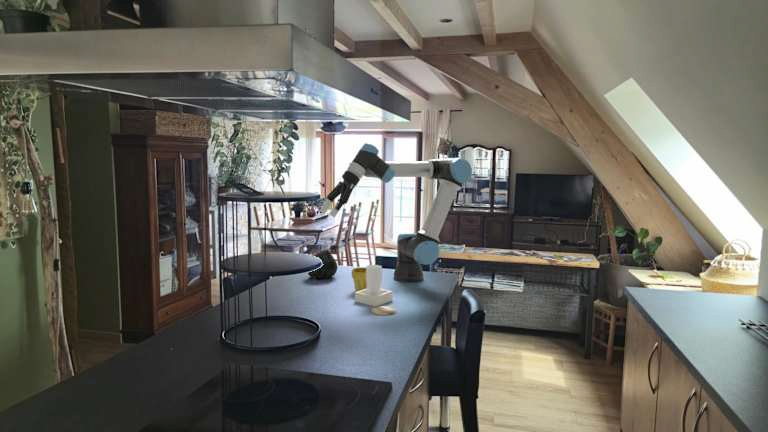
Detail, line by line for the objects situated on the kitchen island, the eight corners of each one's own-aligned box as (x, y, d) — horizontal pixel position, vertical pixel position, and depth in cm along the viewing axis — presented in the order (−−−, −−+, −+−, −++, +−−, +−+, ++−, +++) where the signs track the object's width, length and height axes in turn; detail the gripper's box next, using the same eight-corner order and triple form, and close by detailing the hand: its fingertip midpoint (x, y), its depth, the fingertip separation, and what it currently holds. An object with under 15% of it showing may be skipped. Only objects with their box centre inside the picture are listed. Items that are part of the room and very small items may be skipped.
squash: (299, 265, 258) (310, 246, 250) (325, 263, 268) (335, 244, 259) (309, 287, 251) (320, 269, 242) (335, 284, 260) (346, 266, 251)
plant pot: (373, 294, 226) (373, 272, 225) (350, 293, 226) (350, 272, 225) (374, 288, 236) (374, 267, 235) (352, 287, 237) (352, 267, 235)
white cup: (368, 303, 211) (368, 268, 209) (363, 299, 217) (364, 265, 215) (383, 302, 213) (384, 267, 211) (378, 298, 219) (379, 264, 218)
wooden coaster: (381, 306, 208) (381, 304, 208) (401, 310, 202) (401, 309, 202) (366, 311, 200) (366, 310, 200) (386, 316, 194) (386, 315, 194)
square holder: (371, 295, 223) (371, 286, 222) (392, 300, 216) (392, 291, 216) (354, 301, 214) (354, 292, 213) (376, 306, 207) (376, 296, 207)
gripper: (337, 168, 233) (311, 206, 229) (357, 170, 210) (329, 212, 207) (349, 178, 236) (324, 215, 232) (370, 180, 213) (343, 222, 210)
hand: (326, 214), depth 220 cm, fingers open, 13 cm apart
